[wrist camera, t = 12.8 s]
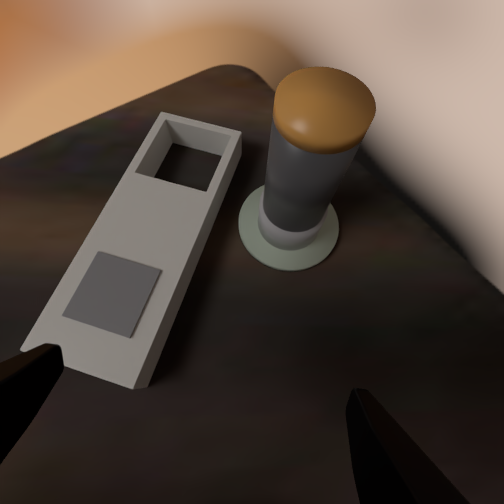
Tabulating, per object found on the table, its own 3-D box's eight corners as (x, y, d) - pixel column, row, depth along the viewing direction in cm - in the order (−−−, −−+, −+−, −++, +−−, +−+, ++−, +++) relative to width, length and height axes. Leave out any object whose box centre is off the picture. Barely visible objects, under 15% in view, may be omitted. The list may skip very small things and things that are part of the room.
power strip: (241, 154, 29) (241, 130, 26) (147, 387, 21) (131, 389, 18) (168, 135, 30) (160, 109, 27) (48, 353, 21) (17, 350, 19)
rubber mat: (344, 198, 28) (346, 194, 27) (326, 284, 24) (328, 282, 24) (254, 174, 28) (254, 170, 28) (225, 254, 25) (224, 252, 24)
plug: (324, 205, 27) (386, 77, 15) (311, 258, 24) (372, 156, 13) (267, 190, 27) (285, 54, 16) (250, 240, 25) (256, 126, 13)
